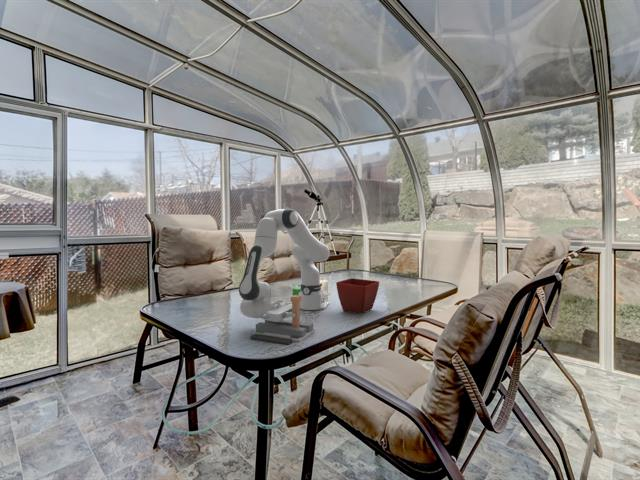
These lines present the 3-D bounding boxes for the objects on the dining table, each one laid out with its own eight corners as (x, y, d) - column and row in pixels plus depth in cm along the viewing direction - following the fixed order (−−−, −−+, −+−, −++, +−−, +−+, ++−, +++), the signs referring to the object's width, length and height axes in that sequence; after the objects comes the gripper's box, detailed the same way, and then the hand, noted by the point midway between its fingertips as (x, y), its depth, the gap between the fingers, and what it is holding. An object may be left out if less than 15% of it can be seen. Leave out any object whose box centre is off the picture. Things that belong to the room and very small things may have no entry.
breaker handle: (294, 329, 162) (294, 294, 161) (301, 330, 161) (301, 295, 160) (290, 332, 159) (290, 296, 158) (297, 333, 157) (297, 297, 156)
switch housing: (271, 324, 174) (271, 316, 174) (315, 330, 165) (315, 322, 165) (253, 334, 159) (253, 325, 159) (300, 341, 150) (300, 332, 150)
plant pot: (379, 309, 205) (380, 281, 204) (365, 316, 189) (365, 286, 188) (351, 304, 215) (351, 277, 214) (335, 311, 200) (335, 282, 199)
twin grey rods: (254, 336, 156) (254, 332, 156) (293, 342, 149) (293, 338, 149) (249, 339, 153) (249, 335, 153) (289, 345, 145) (289, 341, 145)
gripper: (259, 309, 154) (287, 312, 149) (281, 299, 173) (307, 302, 168) (259, 323, 155) (287, 327, 149) (282, 312, 174) (307, 315, 168)
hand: (297, 313), depth 159 cm, fingers closed on breaker handle, 3 cm apart
